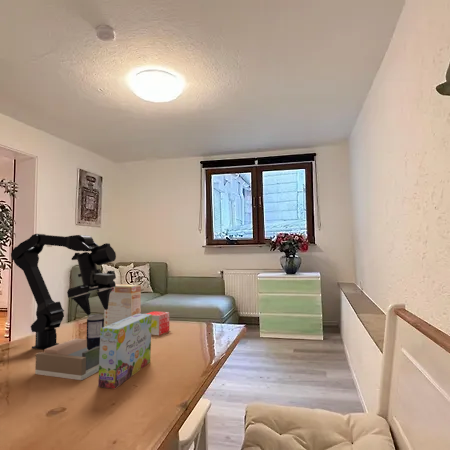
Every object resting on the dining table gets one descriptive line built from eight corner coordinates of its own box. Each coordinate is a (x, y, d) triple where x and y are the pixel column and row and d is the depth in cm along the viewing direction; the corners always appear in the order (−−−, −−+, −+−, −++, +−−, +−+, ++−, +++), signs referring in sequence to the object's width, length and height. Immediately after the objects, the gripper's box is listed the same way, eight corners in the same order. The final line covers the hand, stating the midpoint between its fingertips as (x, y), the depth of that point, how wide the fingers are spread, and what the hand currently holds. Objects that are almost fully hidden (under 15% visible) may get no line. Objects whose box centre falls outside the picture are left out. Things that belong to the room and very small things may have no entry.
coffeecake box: (141, 329, 149) (141, 284, 150) (130, 332, 142) (131, 286, 144) (114, 326, 155) (115, 283, 156) (103, 329, 148) (104, 285, 150)
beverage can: (107, 348, 120) (107, 314, 120) (94, 353, 114) (95, 317, 115) (95, 346, 122) (95, 313, 123) (82, 351, 117) (83, 316, 118)
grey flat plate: (81, 370, 94) (82, 352, 95) (108, 357, 106) (109, 341, 106) (84, 371, 94) (85, 352, 95) (111, 357, 106) (111, 341, 106)
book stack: (43, 367, 98) (43, 349, 98) (75, 353, 110) (76, 338, 110) (55, 368, 96) (56, 350, 97) (87, 355, 109) (87, 339, 109)
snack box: (117, 389, 85) (118, 328, 86) (97, 388, 86) (98, 327, 87) (152, 362, 105) (152, 313, 106) (135, 361, 107) (136, 312, 108)
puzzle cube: (143, 333, 141) (143, 314, 142) (153, 329, 148) (154, 311, 149) (159, 335, 138) (159, 315, 139) (169, 331, 145) (169, 312, 146)
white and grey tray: (35, 373, 96) (35, 353, 96) (80, 354, 113) (80, 337, 113) (81, 380, 91) (81, 358, 91) (121, 359, 108) (121, 341, 108)
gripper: (88, 265, 109) (99, 312, 107) (122, 261, 127) (132, 302, 125) (61, 273, 112) (71, 319, 110) (98, 269, 130) (107, 308, 128)
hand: (98, 312), depth 118 cm, fingers open, 9 cm apart
